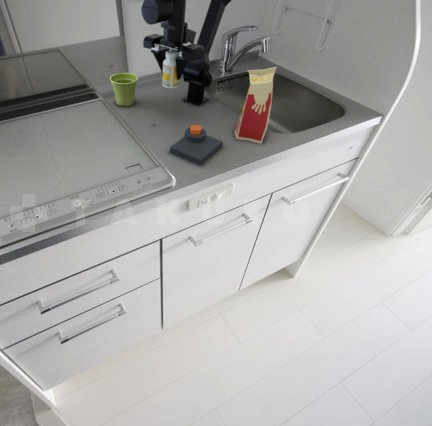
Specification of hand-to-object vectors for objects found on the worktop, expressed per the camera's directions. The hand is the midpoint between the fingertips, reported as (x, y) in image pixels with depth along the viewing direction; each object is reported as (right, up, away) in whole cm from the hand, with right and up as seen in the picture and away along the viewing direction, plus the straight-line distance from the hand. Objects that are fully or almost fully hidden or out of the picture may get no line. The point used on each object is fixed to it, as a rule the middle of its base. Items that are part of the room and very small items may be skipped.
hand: (171, 77), depth 94 cm
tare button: (+7, -19, -6) cm, 21 cm away
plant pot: (-16, -3, +14) cm, 21 cm away
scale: (+7, -24, -7) cm, 26 cm away
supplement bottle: (0, -2, +2) cm, 3 cm away
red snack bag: (+24, -18, 0) cm, 30 cm away
